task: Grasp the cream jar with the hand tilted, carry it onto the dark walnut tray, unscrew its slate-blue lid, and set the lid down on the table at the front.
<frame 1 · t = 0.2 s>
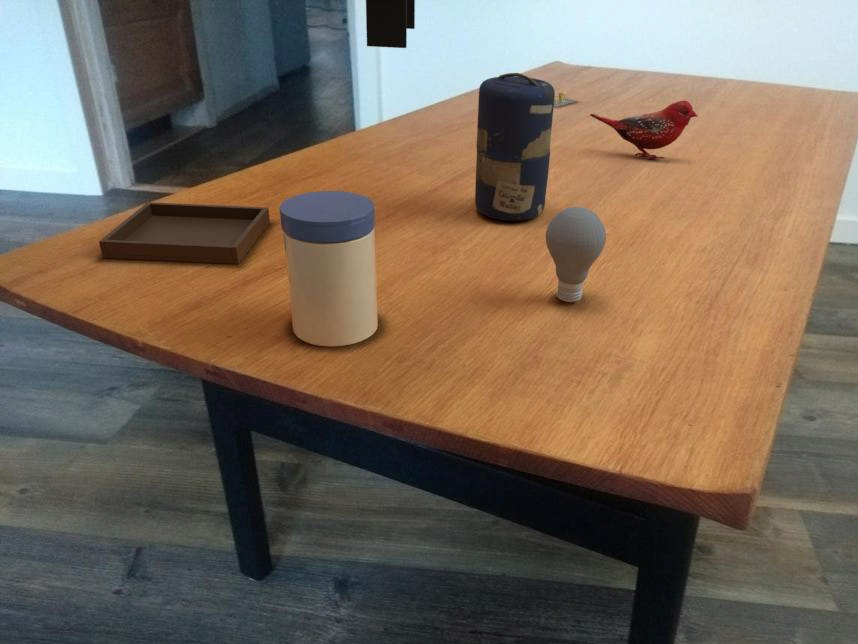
hand: (393, 36, 58), 26 cm above the table, tool pointing down, fingers open, 13 cm apart
dice set: (551, 101, 165), on the table
jar lid: (327, 210, 66), point 12 cm above the table, screwed on, not yet turned
jar: (335, 326, 72), on the table
decorative bird figurine: (636, 158, 128), on the table
canister: (509, 214, 101), on the table
light bulb: (568, 301, 79), on the table
tray: (191, 239, 89), on the table
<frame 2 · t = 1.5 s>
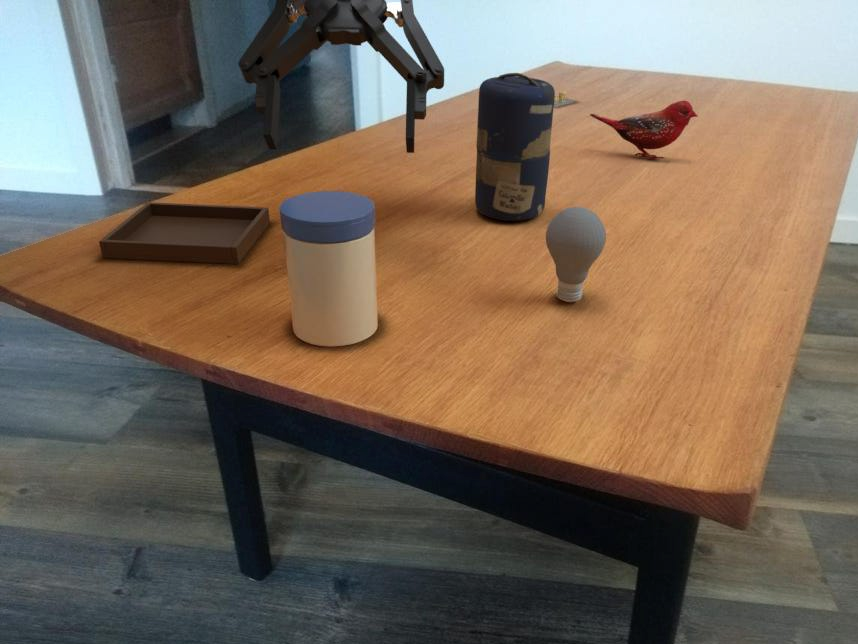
hand: (340, 144, 73), 15 cm above the table, tool tilted 45°, fingers open, 13 cm apart
nothing on the table moved.
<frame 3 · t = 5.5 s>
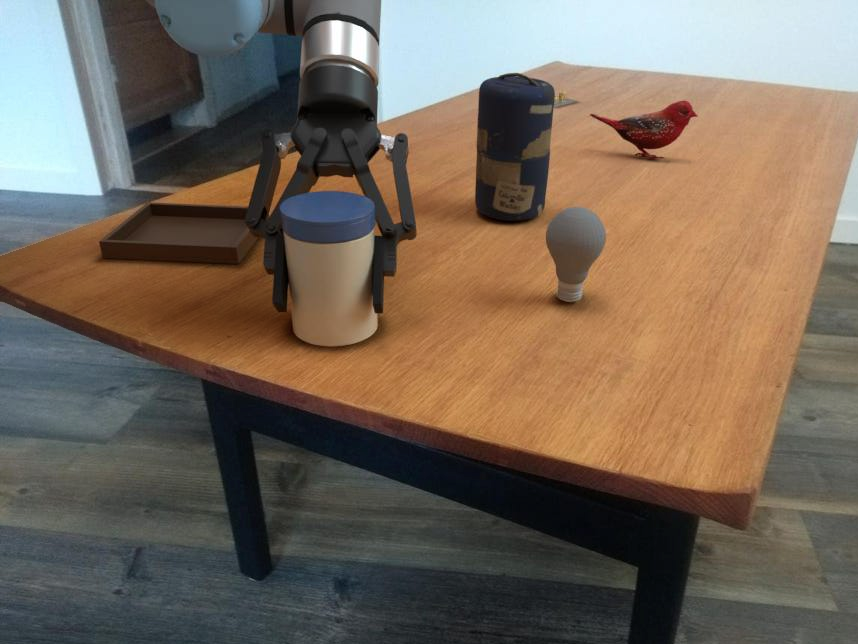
hand: (328, 308, 67), 4 cm above the table, tool tilted 45°, fingers closed on jar, 8 cm apart
jar: (335, 326, 72), on the table, touching gripper
everything else where it was.
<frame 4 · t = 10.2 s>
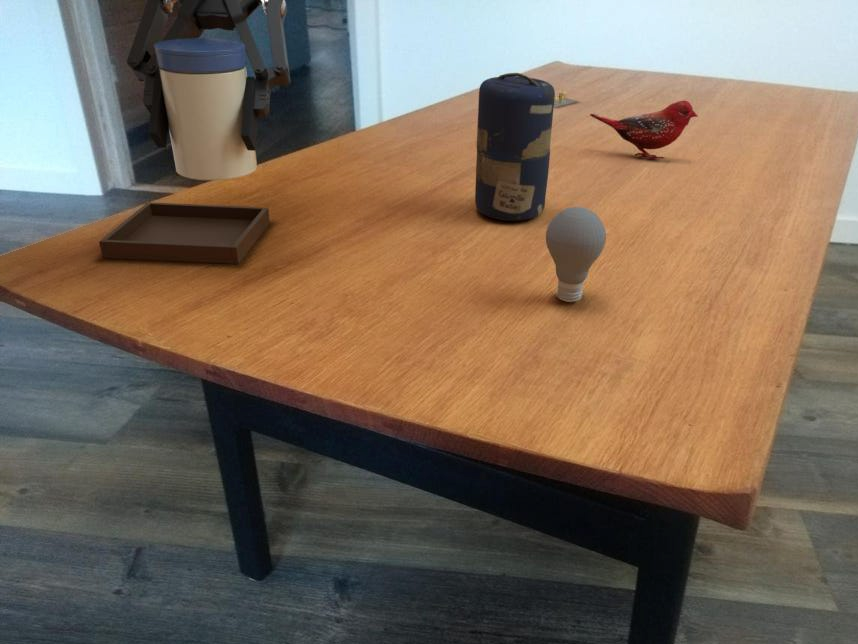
hand: (202, 141, 73), 14 cm above the table, tool tilted 45°, fingers closed on jar, 8 cm apart
jar lid: (200, 49, 72), point 22 cm above the table, screwed on, not yet turned
jar: (217, 168, 78), point 11 cm above the table, touching gripper
everything else where it was.
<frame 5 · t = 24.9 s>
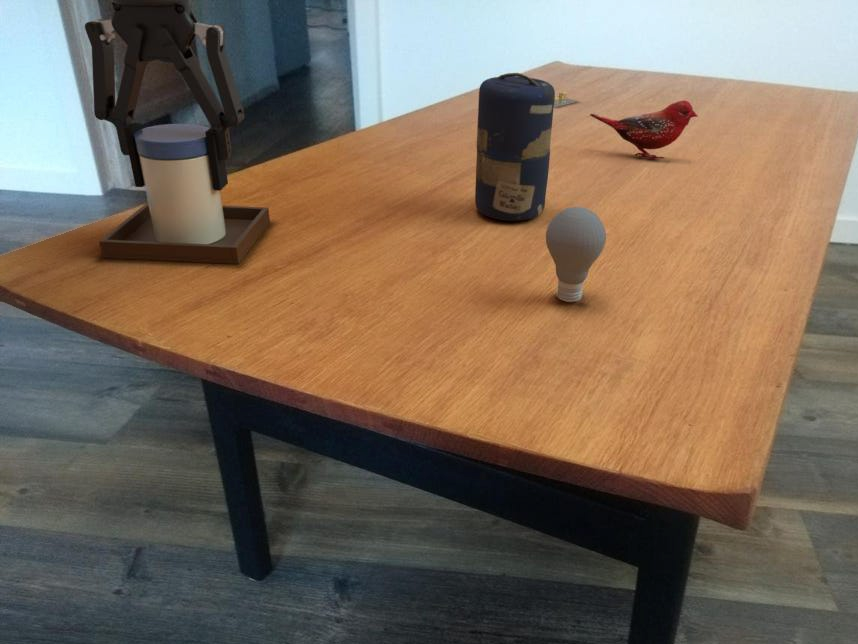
hand: (182, 184, 86), 7 cm above the table, tool pointing down, fingers closed on jar lid, 8 cm apart
jar lid: (174, 136, 83), point 12 cm above the table, screwed on, not yet turned, touching gripper
jar: (191, 235, 89), point 1 cm above the table, touching tray
everything else where it was.
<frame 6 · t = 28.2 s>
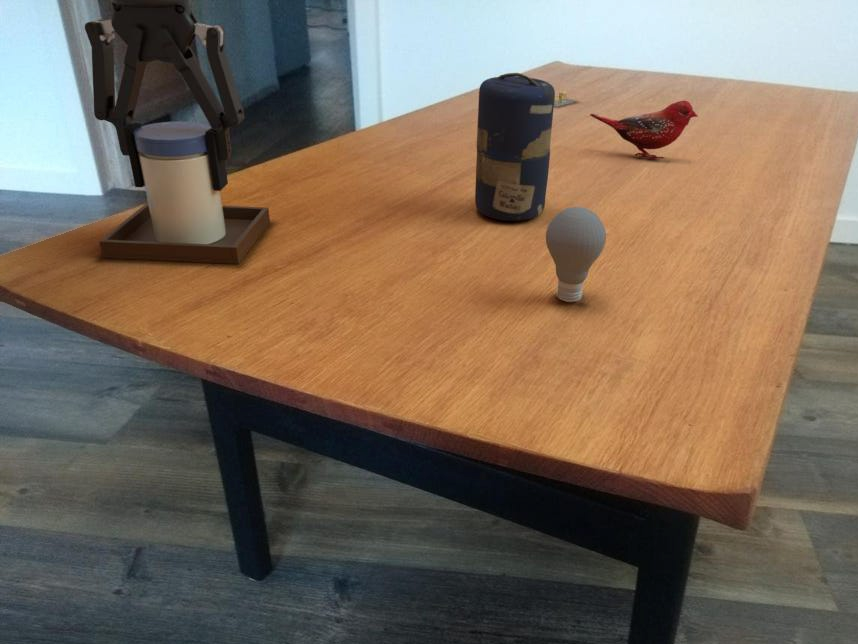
hand: (182, 185, 86), 7 cm above the table, tool pointing down, fingers closed on jar lid, 8 cm apart
jar lid: (173, 133, 83), point 12 cm above the table, turned 92° so far, risen 0.3 cm, still on its thread, touching gripper
everything else where it was.
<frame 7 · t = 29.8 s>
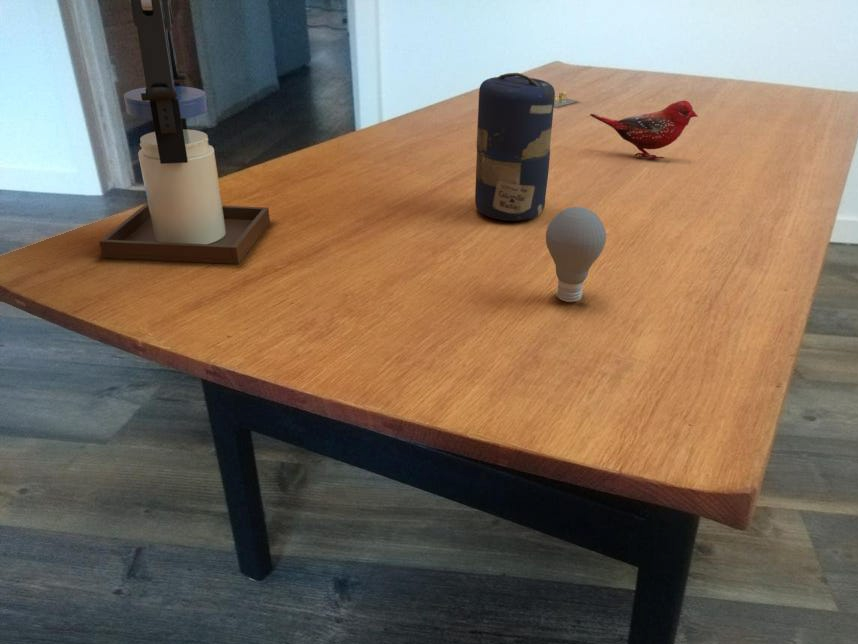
hand: (175, 150, 84), 10 cm above the table, tool pointing down, fingers closed on jar lid, 8 cm apart
jar lid: (165, 97, 81), point 16 cm above the table, off its thread, touching gripper
everything else where it was.
when the fingers open (1 cm above the table, at t = 37.7 s): jar lid drops 5 cm, point 1 cm above the table.
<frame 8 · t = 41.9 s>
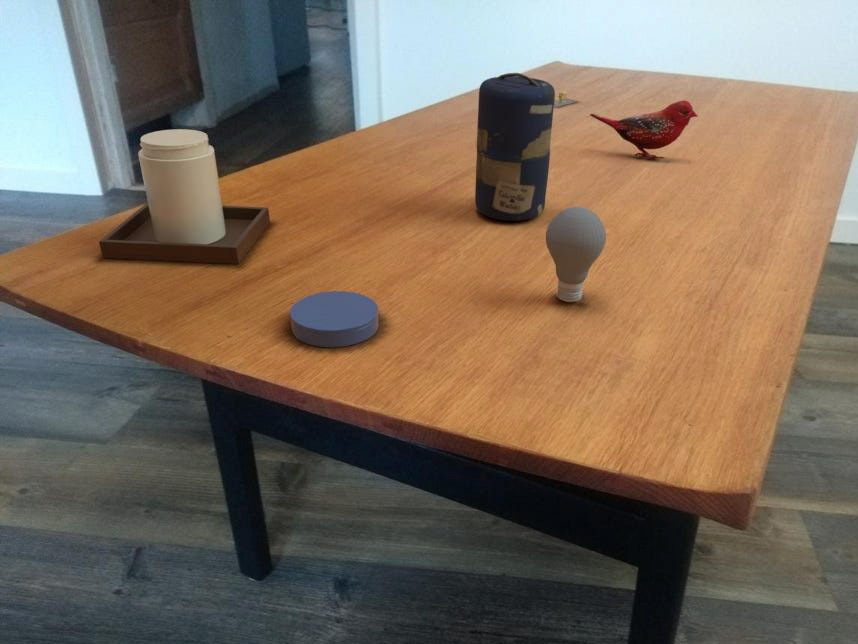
jar lid: (334, 313, 71), point 1 cm above the table, off its thread
everything else where it was.
at the end: jar 0.1 cm off-centre in the tray, point 0.5 cm above the tray's base; jar lid point 1.4 cm above the table; the gripper is holding nothing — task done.
